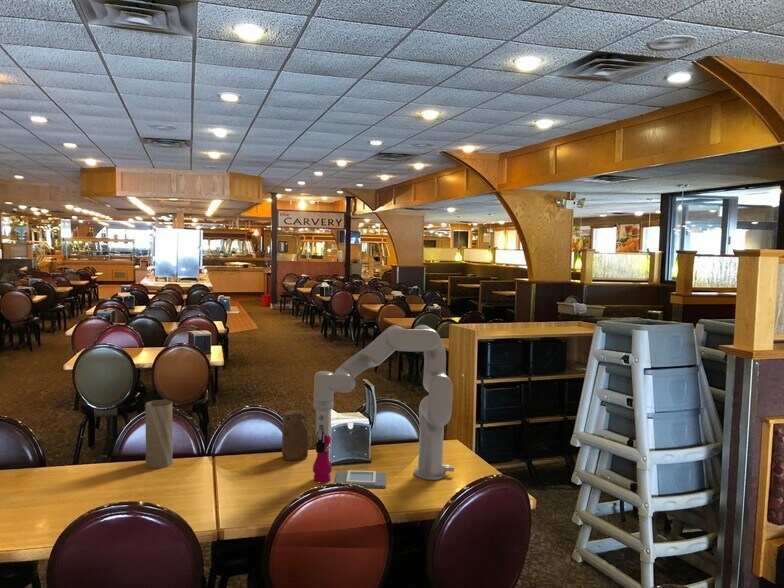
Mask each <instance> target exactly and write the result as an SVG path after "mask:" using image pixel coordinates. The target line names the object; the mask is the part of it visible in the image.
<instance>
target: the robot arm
mask: <svg viewBox="0 0 784 588" xmlns="http://www.w3.org/2000/svg"><path fill="white" fill-rule="evenodd" d="M395 351H398V352H423V359H424V360H423V362H424V363H423V366H424V367H423V377H422V378H423V379H422V385H423V388H424V390H425V391H427V392H428V395H426V396H424V397H423V398H422V399H421V401H420V403H419V406H418V415H419V417H418V418H419V419H418V420H419V436H418V438H419V439H418V440H419V441H418V461H417V462H418V464H417V465H418V467H415V469H414V472H413V473H414V475H415V477H417V478H419V479H421V480H426V481H427V480H428V481H437V480H441V479H444V478H445V477H446V474H447V472H450V473H453V472H455V467H454V466H451V464H444V461H443V455H444V454H443V453H444V452H443V451H444V436H445V435H444V430H445V429H444V427H445V426H446V425H447V424H449V422H450V420H451V417H452V410H453V400H454V399H453V397H454V387H453V382H452V380H451V378H450V377H449V376H448V375H447V369H446V368H447V353H446V348H445V344H444V341H443V340H442V339H441V337H440V335H439V333H438V332H437V331H436V330H435V329H433V328H431V327H430V326H428V325H426V324H419V325H417V326H415V327H414V328H413V329H412V328H404V327H402V326H400V325H396V324H394V325H393V324H392V325H391V326H388V328H386V329H385V330H384V331H383V332H381V334H379V335H378V336H377V337H376V338H375V339H374V340H373V341H371V342H370V343H369V344H368V345H367V346H366V347H364V348H363V349H361V350H359V351H358V352H357V353H355V354H354V355H352V356H351V357H349V358H348V359H346V361H344V362H343V363H341V365H340V366H339V367H338V368H336V370H334V372H332V371H330V370H320V371H317V372H316V373H315V374H314V378H313V379H314V383H313V385H314V386H313V403H312V404H313V409H314V410H315V411H316V413H315V436H317V442H316V443H315V453H317V452H318V453H324V452H325V442H324V439H325V435H327V436H328V435H330V433H331V426H332V425H331V422H332V421H331V420H332V410H334V401H335V400H334V399H335V398H334V396H335V393H343V394H346V393H348V394H349V393H351V392H353V390H354V389H355V387H356V380H355V379H356V377H357V376H359V375H360V374H361V373H363V372H364V371H366V370H367V369H370V368H375V367H378V366H379V365H381V364H382V363H383V362H384V361H385V360H387V359H388V357H390V356H391V355H392V354H393V353H394V352H395ZM322 433H324V434H322ZM322 436H323V437H322Z"/></svg>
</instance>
